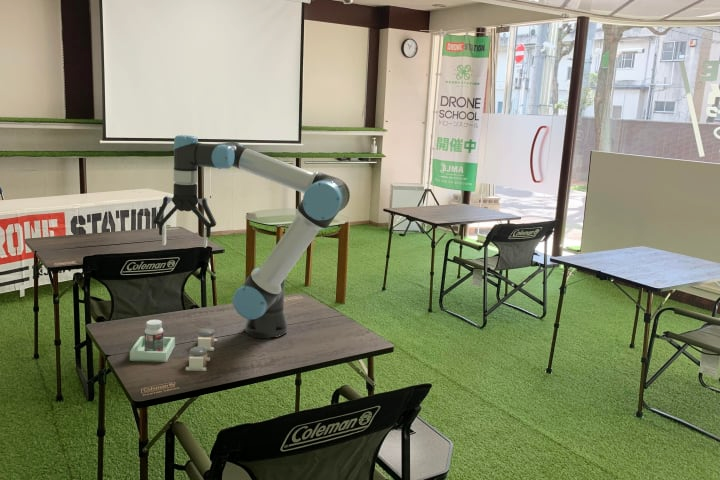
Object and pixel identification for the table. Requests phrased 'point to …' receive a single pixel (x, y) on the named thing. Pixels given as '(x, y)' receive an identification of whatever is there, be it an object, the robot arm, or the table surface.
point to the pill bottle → (154, 336)
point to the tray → (154, 356)
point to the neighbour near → (199, 353)
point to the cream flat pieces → (197, 362)
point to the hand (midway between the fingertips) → (184, 245)
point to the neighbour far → (207, 334)
